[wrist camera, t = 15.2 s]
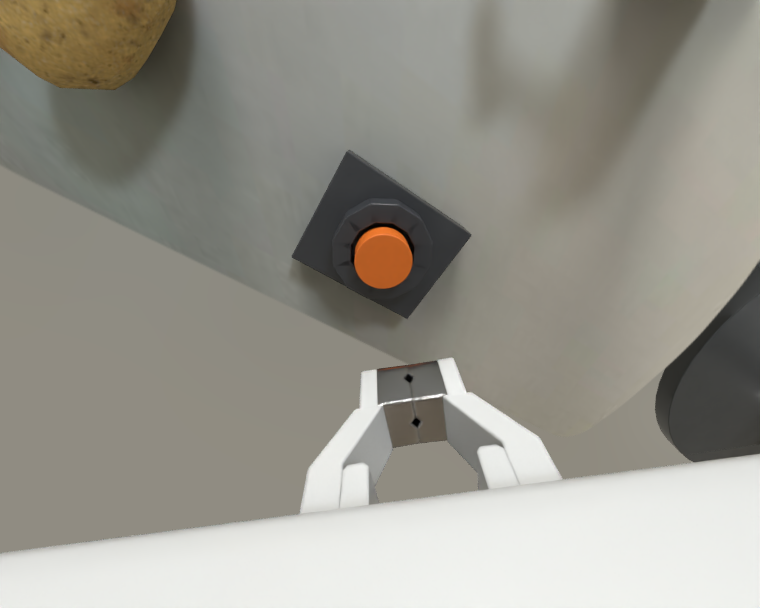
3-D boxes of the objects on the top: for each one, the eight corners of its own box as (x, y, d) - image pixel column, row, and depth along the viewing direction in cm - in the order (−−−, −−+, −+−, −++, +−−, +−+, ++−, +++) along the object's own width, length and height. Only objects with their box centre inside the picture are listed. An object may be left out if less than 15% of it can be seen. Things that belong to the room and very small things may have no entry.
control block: (463, 227, 24) (480, 243, 21) (404, 305, 27) (410, 331, 24) (348, 149, 21) (345, 152, 18) (296, 247, 24) (285, 266, 21)
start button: (420, 244, 21) (424, 253, 19) (390, 287, 22) (392, 298, 21) (373, 215, 20) (374, 222, 18) (345, 261, 21) (343, 272, 20)
